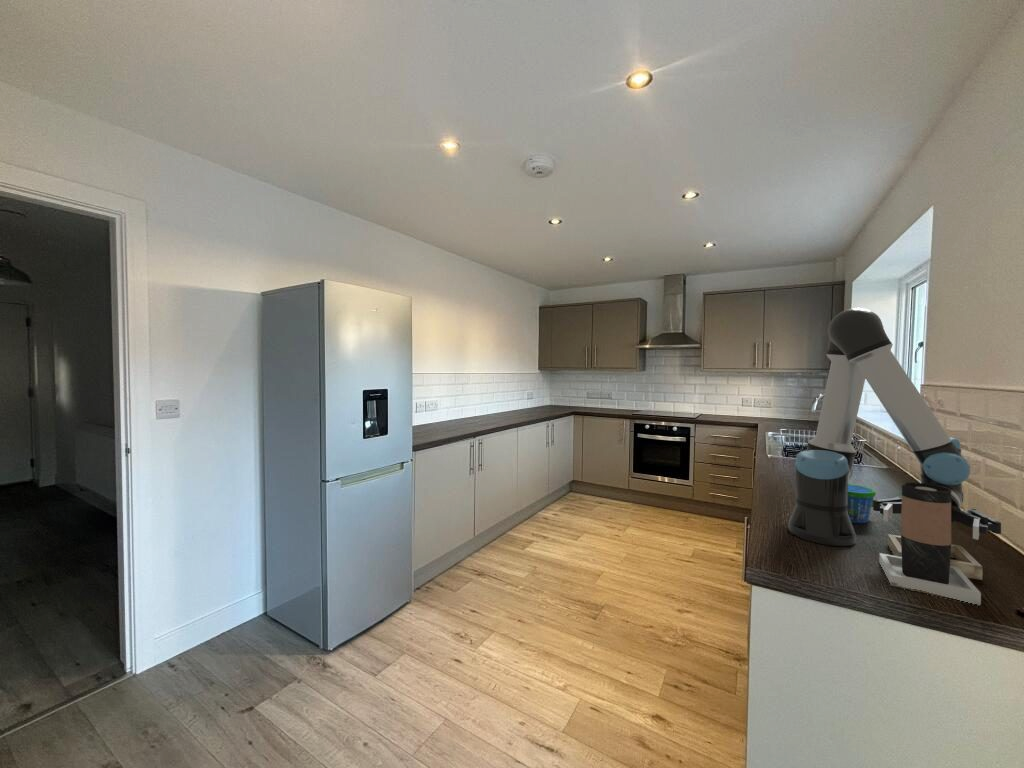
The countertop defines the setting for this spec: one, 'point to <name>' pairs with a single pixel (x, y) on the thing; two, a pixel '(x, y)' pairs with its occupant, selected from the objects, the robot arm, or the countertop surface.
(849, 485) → the snack cup
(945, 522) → the travel mug
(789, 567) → the countertop surface
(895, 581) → the grey tray
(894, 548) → the wooden holder
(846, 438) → the robot arm
